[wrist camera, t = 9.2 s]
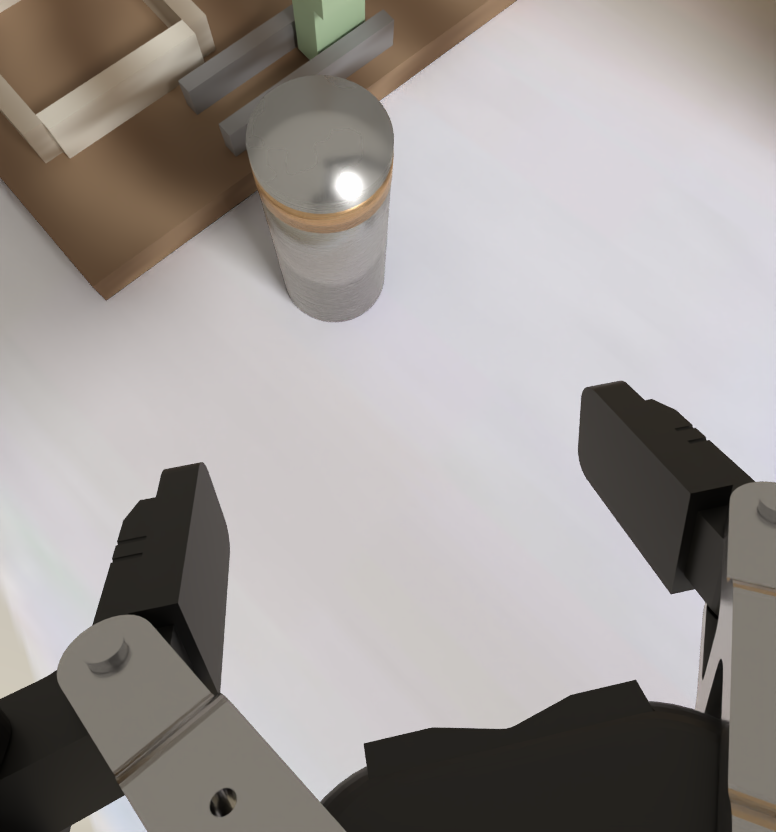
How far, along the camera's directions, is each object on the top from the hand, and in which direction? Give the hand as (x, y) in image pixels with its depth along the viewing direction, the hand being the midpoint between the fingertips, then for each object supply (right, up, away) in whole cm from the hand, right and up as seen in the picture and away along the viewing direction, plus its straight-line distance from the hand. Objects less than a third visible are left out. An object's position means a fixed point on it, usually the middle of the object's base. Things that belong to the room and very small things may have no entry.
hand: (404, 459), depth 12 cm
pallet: (-9, +23, +21) cm, 32 cm away
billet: (-3, +8, +17) cm, 19 cm away
